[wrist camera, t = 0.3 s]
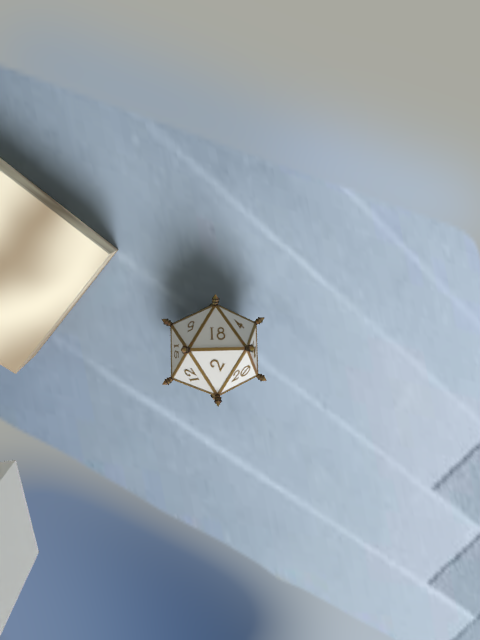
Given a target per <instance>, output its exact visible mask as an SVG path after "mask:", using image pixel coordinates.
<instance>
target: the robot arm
mask: <svg viewBox="0 0 480 640" xmlns="http://www.w3.org/2000/svg"><path fill="white" fill-rule="evenodd" d="M38 553H39V551H38V547H37V543H36V539H35V535H34V531H33V527H32V523H31V519H30V515H29V511H28V507H27V504H26V499H25V495H24V491H23V487H22V483H21V479H20V475H19V471H18V467H17V463H16V460H12V461H4V462H0V635H1V633H2V631H3V628H4V626H5V624H6V622H7V620H8V618H9V616H10V613H11V611H12V609H13V607H14V605H15V602H16V600H17V598H18V596H19V594H20V592H21V589H22V587H23V585H24V583H25V581H26V579H27V577H28V574H29V572H30V570H31V568H32V566H33V564H34V561H35V559H36V557H37V555H38Z"/></svg>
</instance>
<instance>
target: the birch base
mask: <svg viewBox="0 0 480 640" xmlns="http://www.w3.org/2000/svg"><path fill="white" fill-rule="evenodd" d="M117 251H118V249H117V248H116V247H114V246H113V245H112V244H110V243H109V242H108V241H107V240H105V239H104V238H103V237H101V236H100V235H99V234H98V233H96V232H95V231H94V230H92V229H91V228H90V227H89V226H87V225H86V224H85V223H83V222H82V221H81V220H80V219H78V218H77V217H76V216H74V215H73V214H72V213H71V212H69V211H68V210H67V209H65V208H64V207H63V206H62V205H60V204H59V203H58V202H56V201H55V200H54V199H53V198H51V197H50V196H49V195H47V194H46V193H45V192H44V191H42V190H41V189H40V188H38V187H37V186H36V185H35V184H33V183H32V182H31V181H29V180H28V179H27V178H26V177H24V176H23V175H22V174H20V173H19V172H18V171H17V170H15V169H14V168H13V167H11V166H10V165H9V164H8V163H6V162H5V161H4V160H2V159H1V158H0V364H1V365H2V366H4V367H5V368H7V369H9V370H10V371H12V372H13V373H15V374H16V373H17V372H18V371H19V370H20V369H21V368H22V367H23V366H24V365H25V364H27V363H28V362H29V361H30V360H31V359H32V358H33V357H34V356H35V355H36V354H37V352H38V351H39V350H40V349H41V347H42V346H43V345H44V344H45V342H46V341H47V340H48V338H49V337H50V336H51V335H52V333H53V332H54V331H55V329H56V328H57V327H58V326H59V324H60V323H61V322H62V321H63V319H64V318H65V317H66V315H67V314H68V313H69V312H70V310H71V309H72V308H73V307H74V305H75V304H76V303H77V301H78V300H79V299H80V298H81V296H82V295H83V294H84V293H85V291H86V290H87V289H88V287H89V286H90V285H91V284H92V282H93V281H94V280H95V279H96V277H97V276H98V275H99V273H100V272H101V271H102V270H103V268H104V267H105V266H106V265H107V263H108V262H109V261H110V259H111V258H112V257H113V256H114V254H115V253H116V252H117Z"/></svg>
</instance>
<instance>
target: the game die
mask: <svg viewBox="0 0 480 640" xmlns="http://www.w3.org/2000/svg"><path fill="white" fill-rule="evenodd" d="M212 300H213V301H212V302H213V304H211V305H210V306H209V307H206V308H204V309H202V310H200V311H198V312H196V313H194V314H191V315H189V316H187V317H185V318H183V319H181V320H178V321H176V322H174V323H172V322H171V320H170V321H169V320H168V319H162V321H163V322H164V325H165V324H166V325H167V326H170V327H171V377H169V378H167V379H165V381H164V382H163V384H162V385H167V384H168V385H169V383H171V382H172V381H173V380H175V381H177V382H180V383H183V384H185V385H188V386H191V387H193V388H196V389H198V390H201V391H204V392H206V393H209V394H211V397H212V398H213V399H215V401H214V402H215V404H217V406H219V405H220V403H221V402H222V401H221V397H220V395H222V394H224V393H226V392H228V391H230V390H232V389H234V388H235V387H237V386H239V385H241V384H243V383H245V382H247V381H249V380H251V379H253V378H255V377H257V378H258V380H261V381H267V380H266V379H265V377H264V375H262V374H258V356H257V326H256V325H257V324H260V323H262V321H263V319H264V318H259V317H258V319H256V320H255V321H252V320H249V319H247V318H245V317H243V316H241V315H239V314H237V313H235V312H232V311H230V310H228V309H226V308H224V307H222V306H220V305H218V302H219V301H218V300H219V298H218V297H217V295H216V294H215V295H214V297H213V298H212Z"/></svg>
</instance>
